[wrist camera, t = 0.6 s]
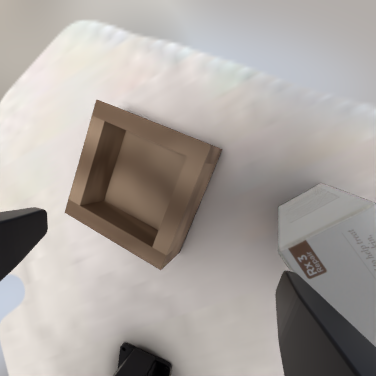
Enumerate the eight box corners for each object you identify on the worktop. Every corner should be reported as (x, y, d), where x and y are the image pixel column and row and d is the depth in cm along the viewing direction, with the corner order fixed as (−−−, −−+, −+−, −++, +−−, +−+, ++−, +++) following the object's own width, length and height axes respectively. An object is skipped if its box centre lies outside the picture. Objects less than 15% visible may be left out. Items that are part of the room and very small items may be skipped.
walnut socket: (179, 252, 24) (160, 270, 20) (96, 205, 27) (64, 212, 23) (222, 149, 22) (211, 145, 18) (125, 110, 25) (96, 99, 21)
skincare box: (365, 241, 19) (512, 355, 7) (313, 265, 20) (369, 392, 9) (319, 178, 20) (389, 195, 8) (271, 206, 21) (274, 253, 10)
